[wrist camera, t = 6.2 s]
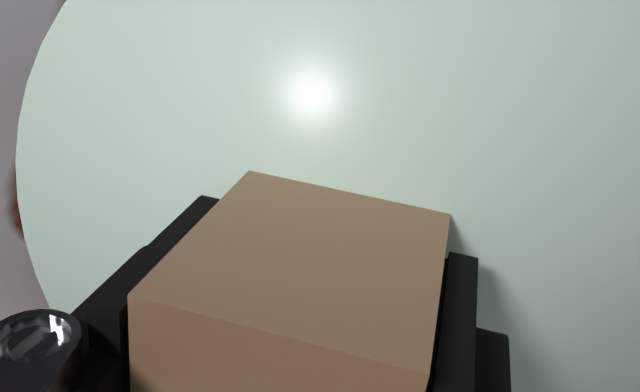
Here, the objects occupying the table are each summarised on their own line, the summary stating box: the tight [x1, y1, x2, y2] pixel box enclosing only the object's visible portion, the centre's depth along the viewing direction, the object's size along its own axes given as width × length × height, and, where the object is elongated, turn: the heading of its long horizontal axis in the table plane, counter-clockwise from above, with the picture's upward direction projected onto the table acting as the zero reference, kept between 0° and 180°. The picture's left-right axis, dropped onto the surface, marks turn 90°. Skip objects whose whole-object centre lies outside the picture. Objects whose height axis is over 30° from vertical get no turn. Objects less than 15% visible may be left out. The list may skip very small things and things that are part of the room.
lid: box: [15, 0, 640, 392], centre depth 11 cm, size 15×15×6 cm
